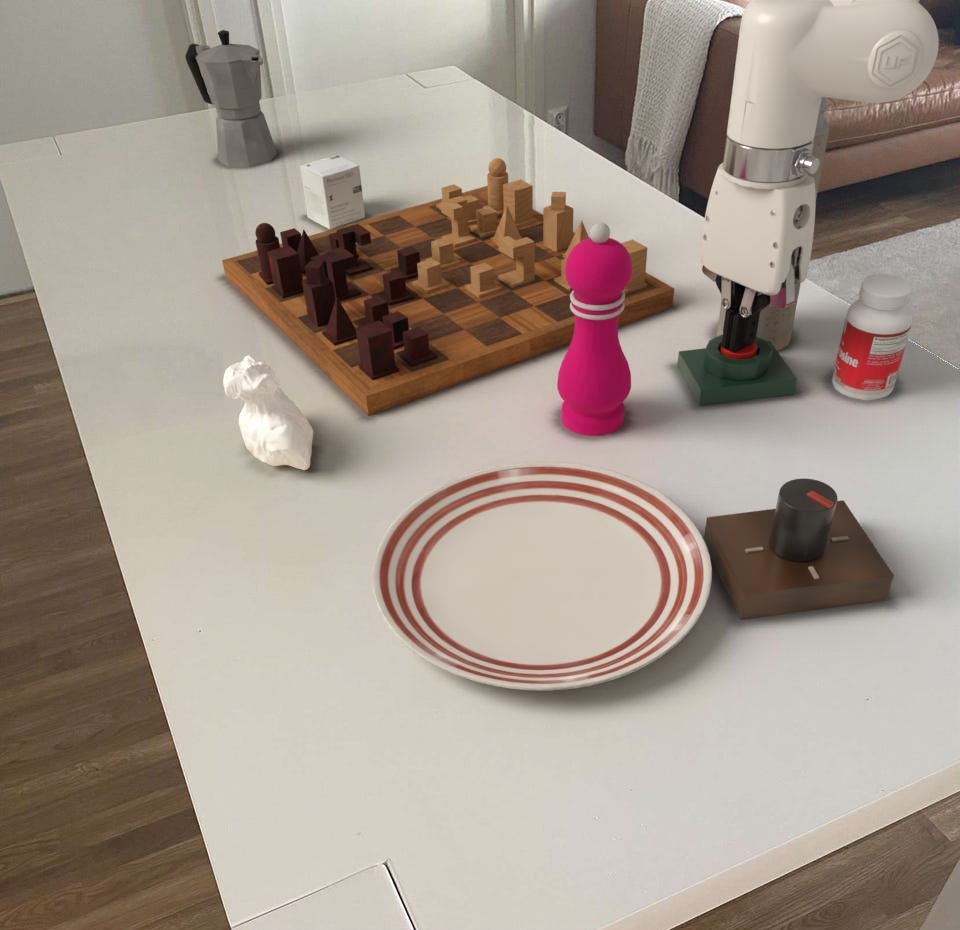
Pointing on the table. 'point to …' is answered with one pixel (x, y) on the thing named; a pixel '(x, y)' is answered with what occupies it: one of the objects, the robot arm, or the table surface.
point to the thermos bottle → (780, 320)
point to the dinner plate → (542, 575)
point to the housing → (735, 374)
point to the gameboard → (430, 290)
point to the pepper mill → (596, 336)
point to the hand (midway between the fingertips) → (737, 345)
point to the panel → (794, 566)
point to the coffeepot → (233, 100)
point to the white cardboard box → (333, 191)
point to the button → (741, 352)
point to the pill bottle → (874, 338)
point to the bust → (268, 416)
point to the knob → (802, 519)
